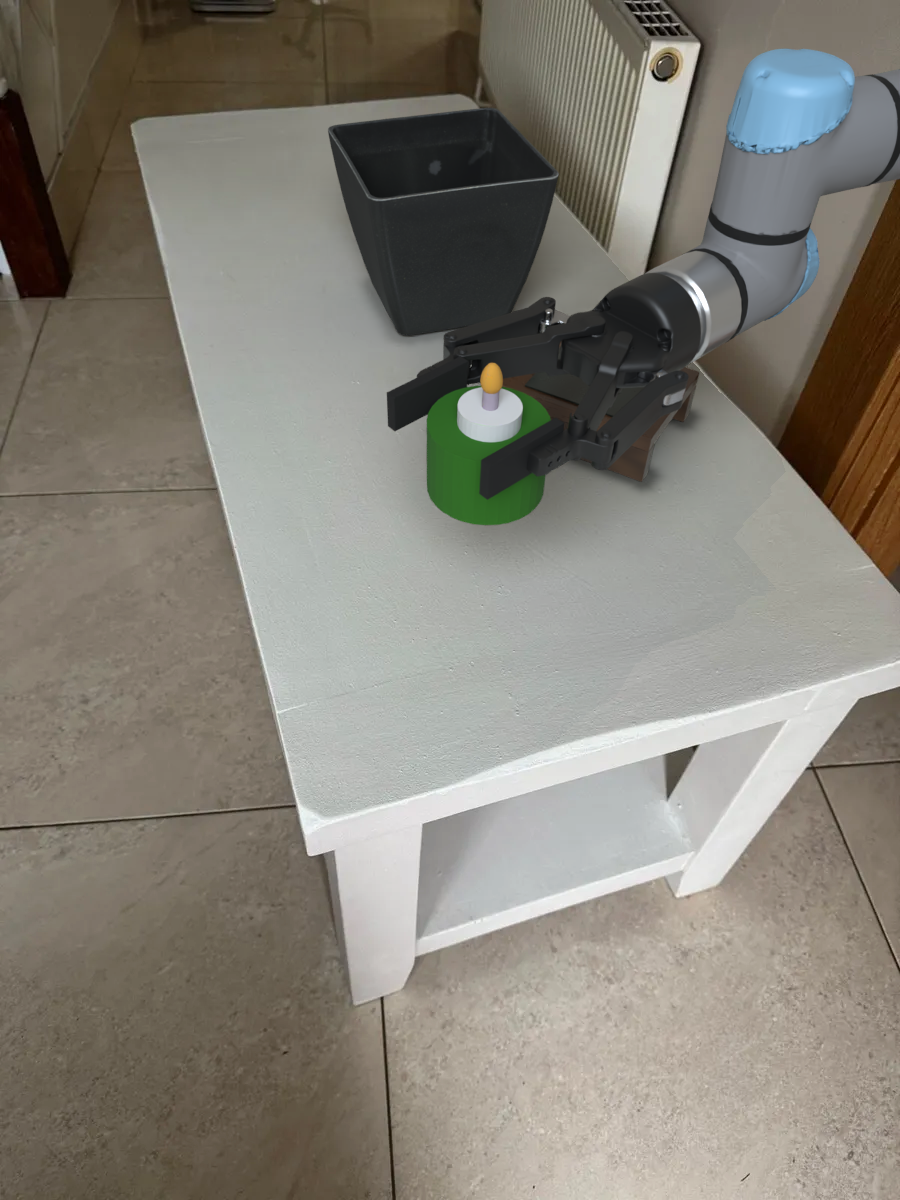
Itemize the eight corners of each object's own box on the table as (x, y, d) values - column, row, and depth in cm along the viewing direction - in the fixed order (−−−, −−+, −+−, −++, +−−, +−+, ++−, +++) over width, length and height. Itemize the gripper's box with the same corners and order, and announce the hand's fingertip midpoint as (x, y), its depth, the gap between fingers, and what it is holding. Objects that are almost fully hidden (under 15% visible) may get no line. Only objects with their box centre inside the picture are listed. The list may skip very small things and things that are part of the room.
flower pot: (336, 272, 109) (324, 121, 97) (488, 250, 113) (496, 103, 101) (377, 359, 97) (370, 200, 85) (546, 332, 101) (562, 176, 89)
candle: (565, 477, 66) (583, 356, 59) (502, 542, 62) (512, 420, 54) (470, 434, 70) (475, 314, 62) (403, 493, 65) (400, 371, 57)
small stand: (688, 414, 92) (700, 369, 88) (641, 482, 85) (651, 436, 81) (543, 365, 97) (548, 320, 93) (488, 425, 90) (491, 379, 86)
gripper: (768, 427, 67) (549, 576, 57) (556, 308, 77) (339, 416, 67) (799, 336, 62) (562, 482, 51) (567, 221, 72) (331, 323, 61)
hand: (436, 444), depth 59 cm, fingers closed on candle, 8 cm apart
